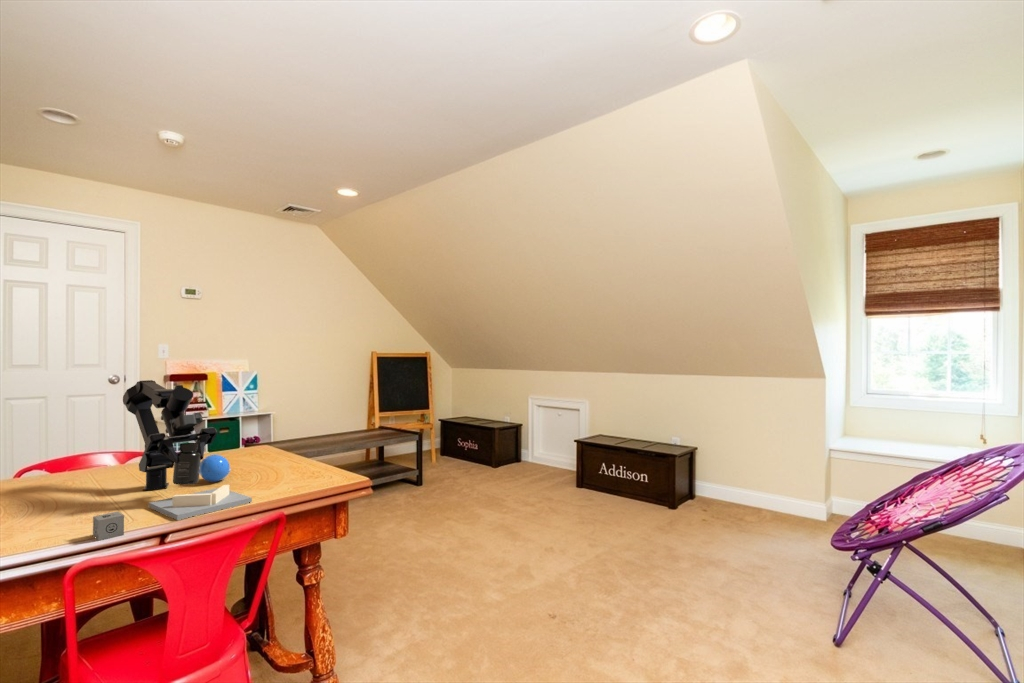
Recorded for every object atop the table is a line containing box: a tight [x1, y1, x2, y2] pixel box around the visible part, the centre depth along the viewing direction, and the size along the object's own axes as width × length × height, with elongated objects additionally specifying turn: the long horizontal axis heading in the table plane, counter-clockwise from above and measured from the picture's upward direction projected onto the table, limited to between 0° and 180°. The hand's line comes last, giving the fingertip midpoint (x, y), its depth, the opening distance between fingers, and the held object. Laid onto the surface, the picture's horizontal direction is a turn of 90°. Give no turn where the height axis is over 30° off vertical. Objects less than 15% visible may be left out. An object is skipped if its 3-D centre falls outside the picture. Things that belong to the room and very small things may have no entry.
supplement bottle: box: [172, 442, 202, 486], centre depth 156 cm, size 7×7×12 cm
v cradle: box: [148, 484, 253, 521], centre depth 151 cm, size 20×20×4 cm
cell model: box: [199, 454, 232, 483], centre depth 179 cm, size 10×12×10 cm
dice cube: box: [92, 511, 125, 542], centre depth 126 cm, size 5×5×5 cm
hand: (190, 460), depth 155 cm, fingers closed on supplement bottle, 6 cm apart
